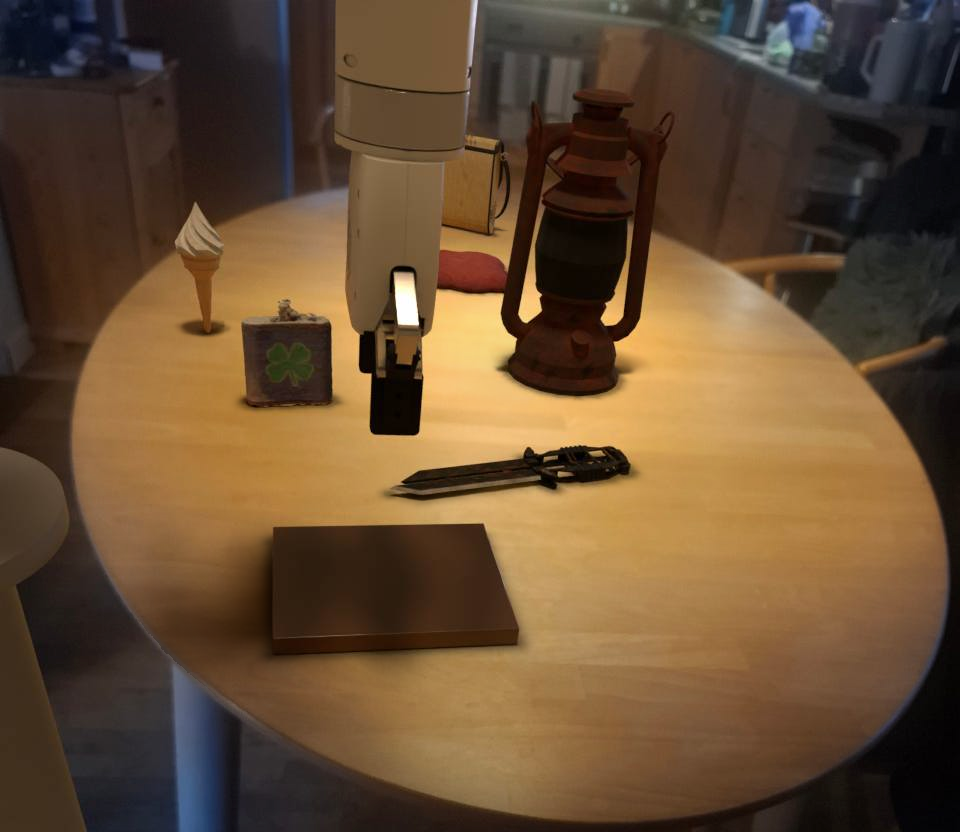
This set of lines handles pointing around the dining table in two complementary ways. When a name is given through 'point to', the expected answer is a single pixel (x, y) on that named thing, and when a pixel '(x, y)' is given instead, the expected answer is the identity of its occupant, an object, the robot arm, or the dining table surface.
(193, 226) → the ice cream cone
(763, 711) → the dining table surface
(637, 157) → the lantern
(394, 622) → the serving board
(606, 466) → the knife
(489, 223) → the clutch purse
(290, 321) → the flask
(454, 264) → the patty
